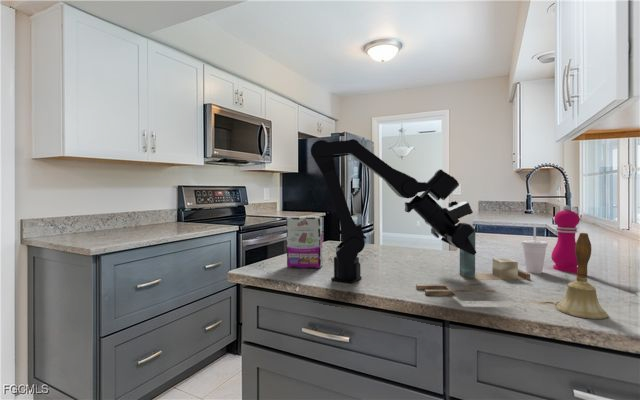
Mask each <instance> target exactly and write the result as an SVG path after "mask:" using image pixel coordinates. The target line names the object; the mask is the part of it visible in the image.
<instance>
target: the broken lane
mask: <svg viewBox="0 0 640 400" xmlns="http://www.w3.org/2000/svg"><path fill="white" fill-rule="evenodd" d="M462 286H464V287H471V286H487V284H486V283H484V282H483V283H482V282H481V283H469V284H468V283H467V284H465V283H463V284H462ZM448 287H450V284H449V283H448V284H447V283H446V284H441V283H440V284H437V283H433V284H432V283H431V284H430V283H427V284H426V283H424V284H422V283H421V284H419V283H418V284H415V289H416V290H417V291H418V290H420V291H422V290H423V291H424V295H425V296H454V297H455V296H456V294H455V293H454V292H458V293H459V292H465V293H466V292H468V293H469V292H473V293H474V292H477V293H478V292H479V293H481V292H482V293H483V292H485V293H486V292H488V293H489V292H490V293H493V292H494V293H495V292H496V290H494V289H449V288H448Z"/></svg>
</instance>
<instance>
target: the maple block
mask: <svg viewBox="0 0 640 400" xmlns="http://www.w3.org/2000/svg"><path fill="white" fill-rule="evenodd" d="M491 265H492V267H491V270H492V272H491V274H493V275H494V276H496V277H498V278H500V279H518V267H519V262H518V261H517V260H514V259H512V258H507V257H505V258H502V257H501V258H492V264H491Z"/></svg>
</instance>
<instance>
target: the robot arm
mask: <svg viewBox="0 0 640 400" xmlns="http://www.w3.org/2000/svg"><path fill="white" fill-rule="evenodd" d="M310 154H311V157H312V158H313V161H314V162H315V163H316V165H317V167H318V169H319V170H320V172H321V174H322V176H323V179H324V181H325V185H326V187H327V189H328V193H329V196H330V198H331V202H332V205H333V207H334V209H335V213H336V215H337V217H338V221H339V226H340V231H341V236H342V237H341V239H342V241H341V242H340V243H339V244H338V245H337V246H336V247H335V255H336V256H334V257H333V276H332V277H331V278H330V279H331V281H333V282H334V281H335V282H341V283H349V284H353V283H355V282H357V281H359V280H361V279H362V278H363V277H362V276H361V263H360V257H359V256H358V255H359V253H361V252H362V251H363V250H364V248H365V246H366V243H365V240H366V239H367V237H366V235H365V234H364V231H363V226H362V223H361V222H360V221H359V222H356V223H355V221H354V219H353V217H352V214H351V211H350V208H349V205H348V203H347V202H348V201H347V200H346V197H345V195H344V191H343V188H342V186H341V183H340V180H339V178H338V174H337V172H336V166H335V160H334V159H336V158H340V157H341V158H342V157H345V156H351V157H353V158H354V159H355V160H357V161H358V162H359V163H361V164H362V165H363V166H365V167H366V168H367V169H369V171H371V172H373V173H374V174H375V175H377V176H378V177H379V178H381V179H382V180H383V181H384V182H385V183H386V184H387V186H388V187H389V188H390V189H391V190H392V192H393V193H395V194H396V196H397V197H399V198H402V199H411V200H410V201H409V202H407V201H406V202H405V201H404V212H405V213H408V214H409V213H411V211H414V212H416V214H418V215H419V217H420V218H422V220H423V221H424V222H425V224H426V225H429V226H430V227H431V229H430V233H431V234H432V235H433V236H434V237H435V238H436V239H439V238H440V237H442V238H441V239H440V241H442V242H444V243H447V244H449V245H451V246H453V247H455V248H457V249H459V250H460V249H461V250H464V251H466V252H468V253H470V254H472V255H475V256H476V254H477V250H476V248H475V249H474V247H473V245H472V244H471V242H470V240H469V238H468V237H469V236H470V235H471V234H472V233H473V232H474V230H475V231H476V229H475V228H474V227H473V226H472V225H471V224H469V223H465V222H460V219H462V218H464V217H465V216H468V215H472V214H473V213H474V212H473V210H472V208H471V204H470V203H469V201H458V202H457V201H456V200H452V201H449V202H448V207H447V208H446V207H442V206H441V205H440V204H439V203H438V202H437V201H440V200H442V201H445V200H446V199H447V198H448V197H449V196H451V194H452V193H453V192H455V190H457V188H458V187H459V186H460V183H459V182H458V180H457V179H456V178H455V177H454V176H452V175H450V174H449V173H447V172H446V171H444V170H443V169H438V170H437V171H435V173H434V175H432V177H431V178H430V179H429V180H427V181H424V182H421V181H418V180H417V179H416V178H415V177H412V176H410V175H409V174H406V173H405V172H402V171H399V170H397V169H395V168H393V167H392V166H391V165H389V164H388V163H386V162H385V161H383V160H382V159H381V158H380V157H379V156H377V155H376V154H375V153H374V152H372V151H370V150H369V149H368V148H366V147H365V146H364V145H362V144H361V143H360V142H359V141H358V140H357V139H355V138H350V139H348V140H336V141H327V140H325V139H318V140H316V141H315V142H313V144H312V145H311V148H310ZM419 193H421V194H420V195H418V194H419Z"/></svg>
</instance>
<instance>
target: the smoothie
mask: <svg viewBox="0 0 640 400" xmlns="http://www.w3.org/2000/svg"><path fill="white" fill-rule="evenodd" d="M521 245H522V251H523V259H524V266H525V272H526V273H529V274H531V273H532V274H542V273H543V267H544V263H545V258H546V250H547V247H548V242H547V241H544V240H537V227H536V226H533V239H525V240H521Z"/></svg>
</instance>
